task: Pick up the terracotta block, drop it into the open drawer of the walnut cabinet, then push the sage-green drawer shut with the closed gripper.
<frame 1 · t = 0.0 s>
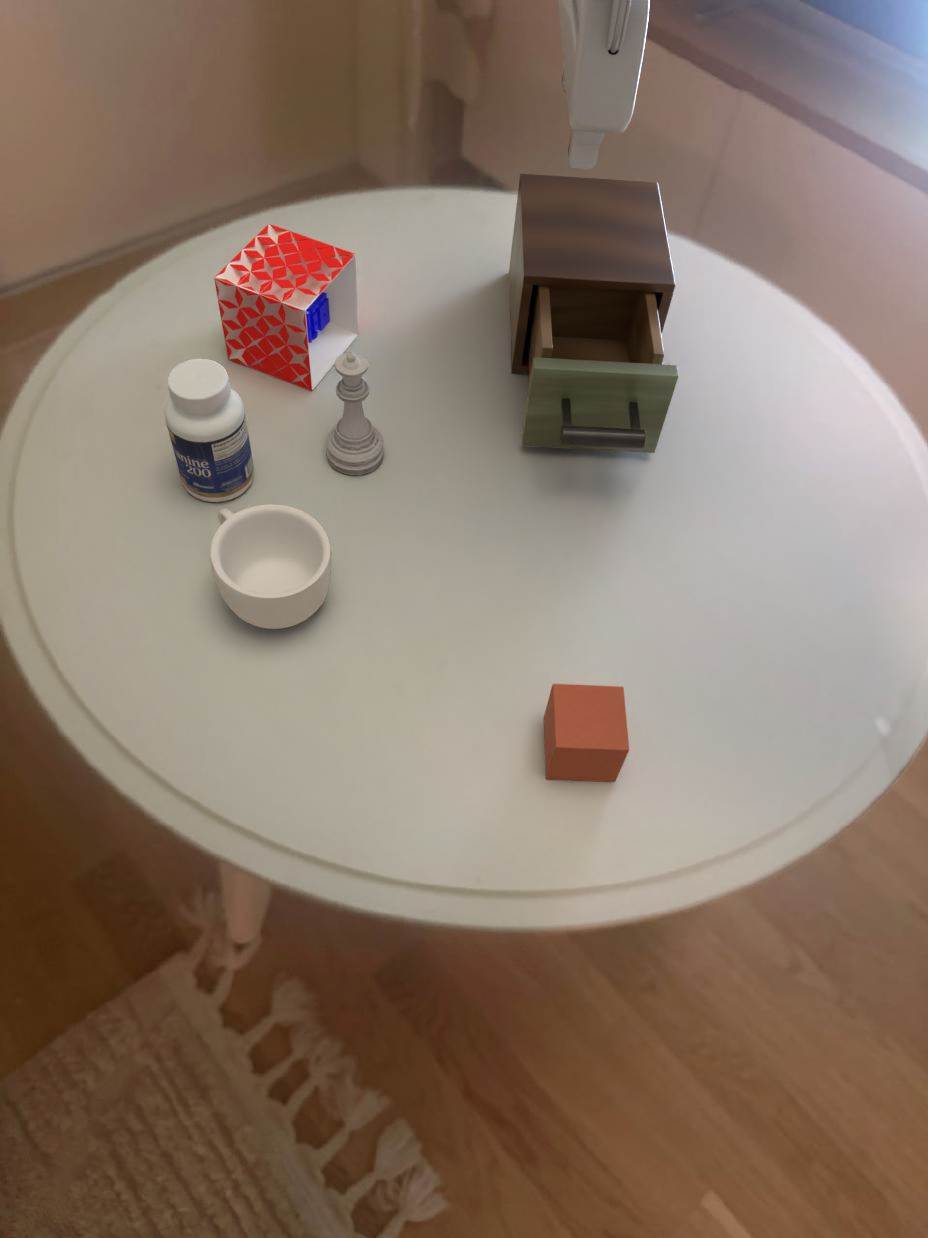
hand: (576, 124, 67), 20 cm above the table, tool pointing down, fingers open, 8 cm apart
block: (578, 749, 63), on the table
drawer: (593, 374, 75), point 5 cm above the table, slide at 8.0 cm
red patterned box: (294, 348, 82), on the table
pill bottle: (218, 479, 74), on the table
teacup: (269, 590, 68), on the table
chess piece: (355, 456, 76), on the table
cabinet: (575, 323, 86), on the table
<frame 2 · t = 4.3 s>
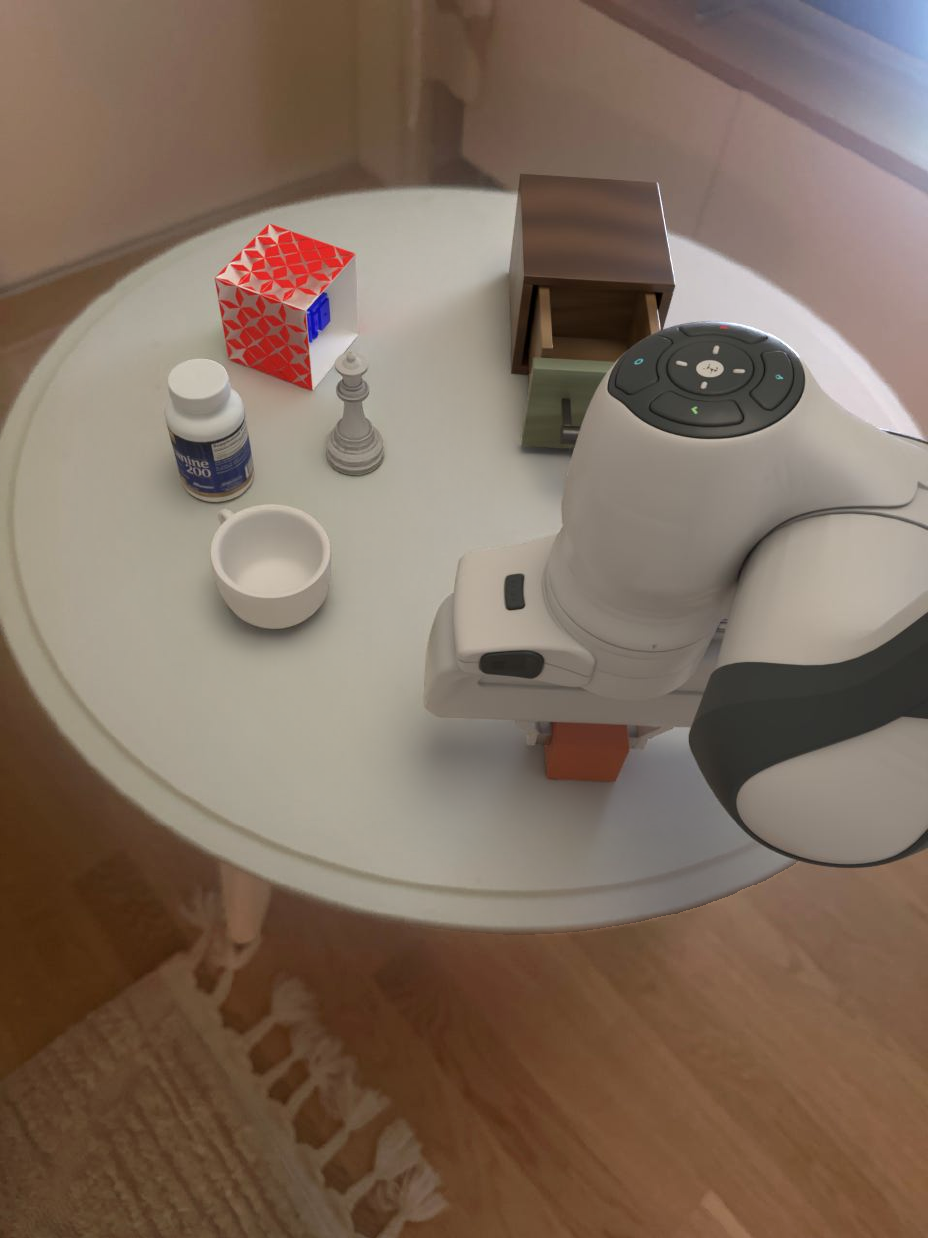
hand: (582, 736, 61), 2 cm above the table, tool pointing down, fingers closed on block, 4 cm apart
block: (579, 749, 63), on the table, touching gripper
everything else where it was.
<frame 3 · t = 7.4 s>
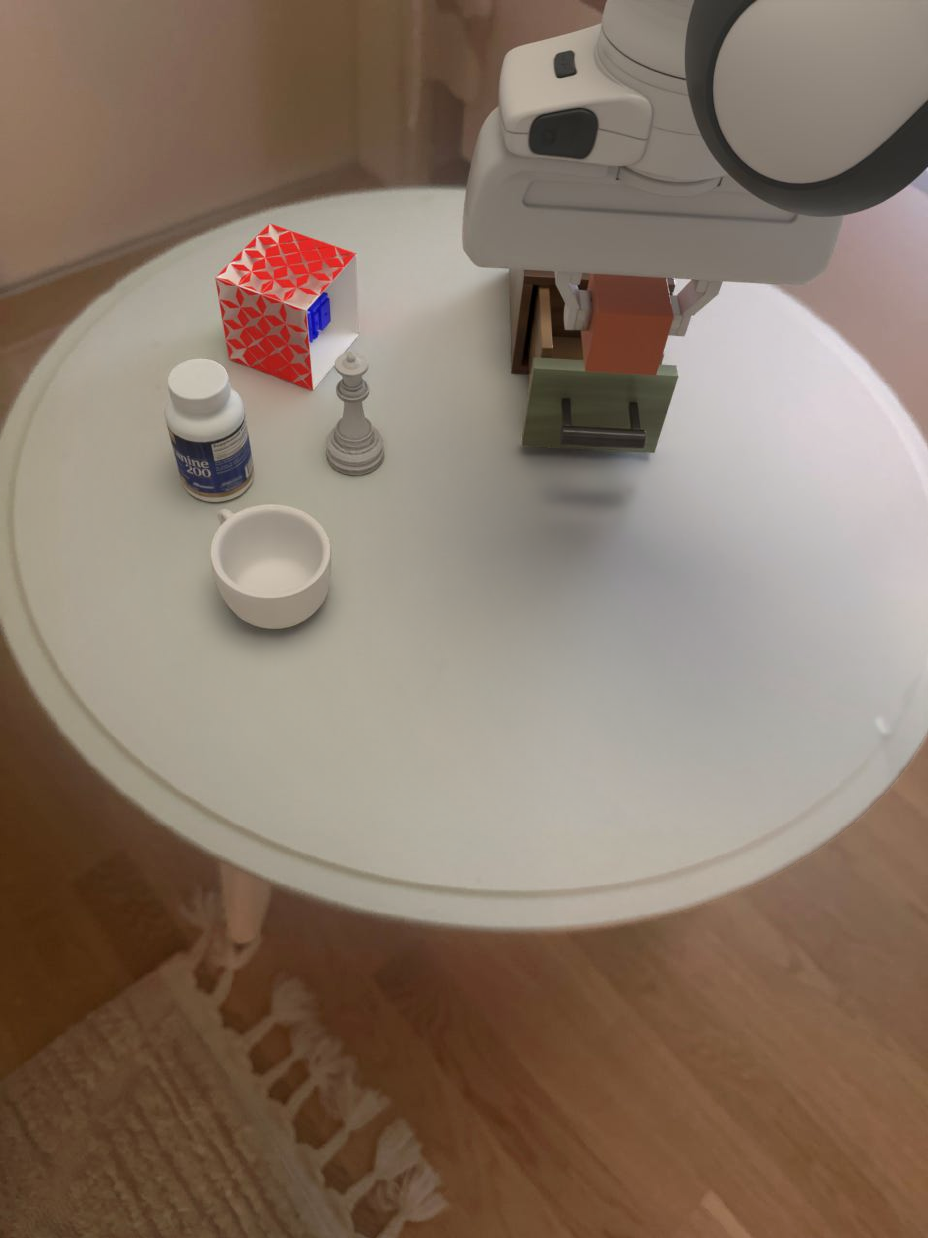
hand: (622, 326, 59), 18 cm above the table, tool pointing down, fingers closed on block, 4 cm apart
block: (617, 349, 61), point 16 cm above the table, touching gripper
everything else where it was.
when the fingers open (9 cm above the table, at t = 10.7 s): block drops 5 cm, resting on drawer.
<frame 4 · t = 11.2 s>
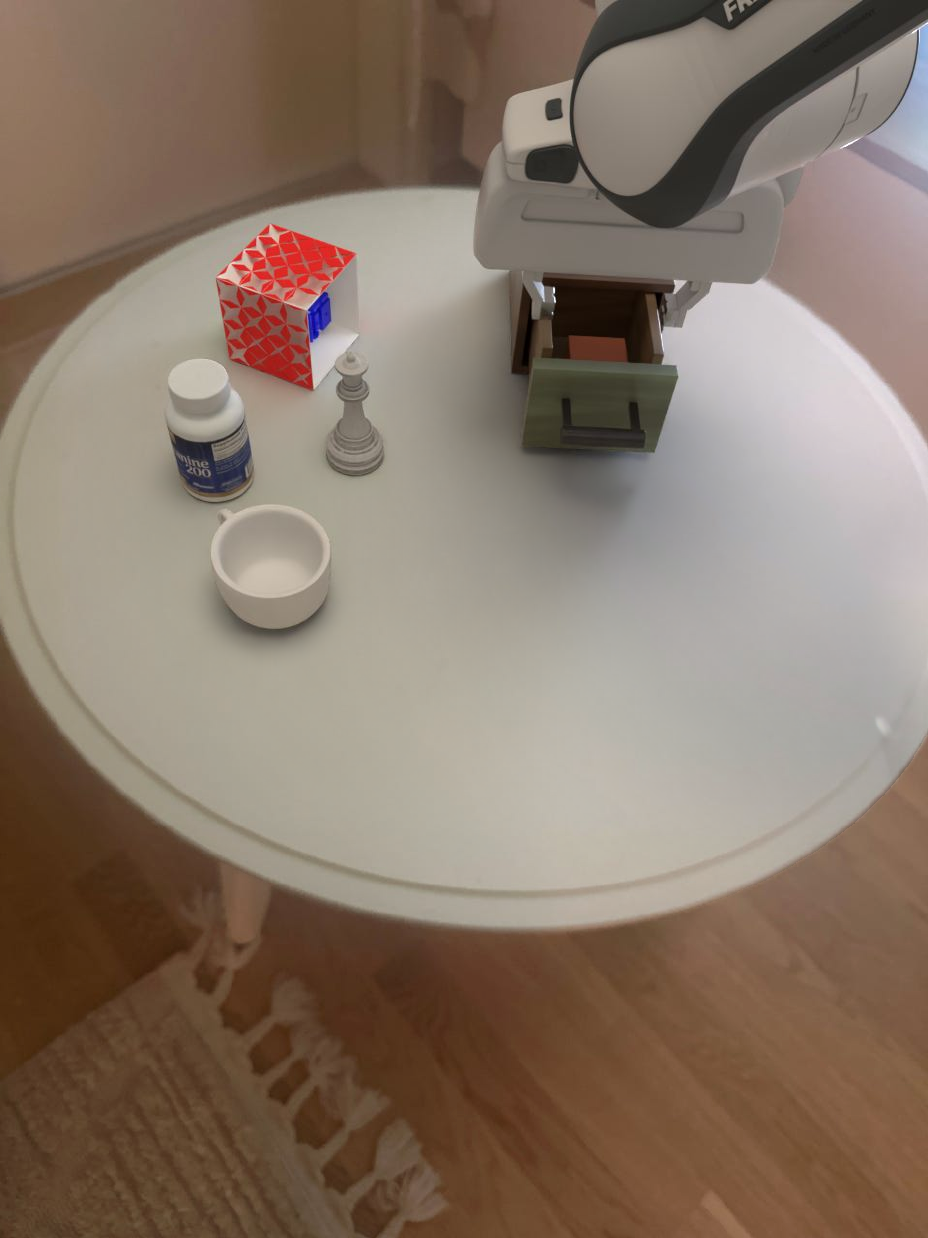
hand: (606, 318, 72), 10 cm above the table, tool pointing down, fingers open, 8 cm apart
block: (589, 398, 78), point 2 cm above the table, touching drawer
drawer: (593, 374, 75), point 5 cm above the table, slide at 8.0 cm, touching block
everything else where it was.
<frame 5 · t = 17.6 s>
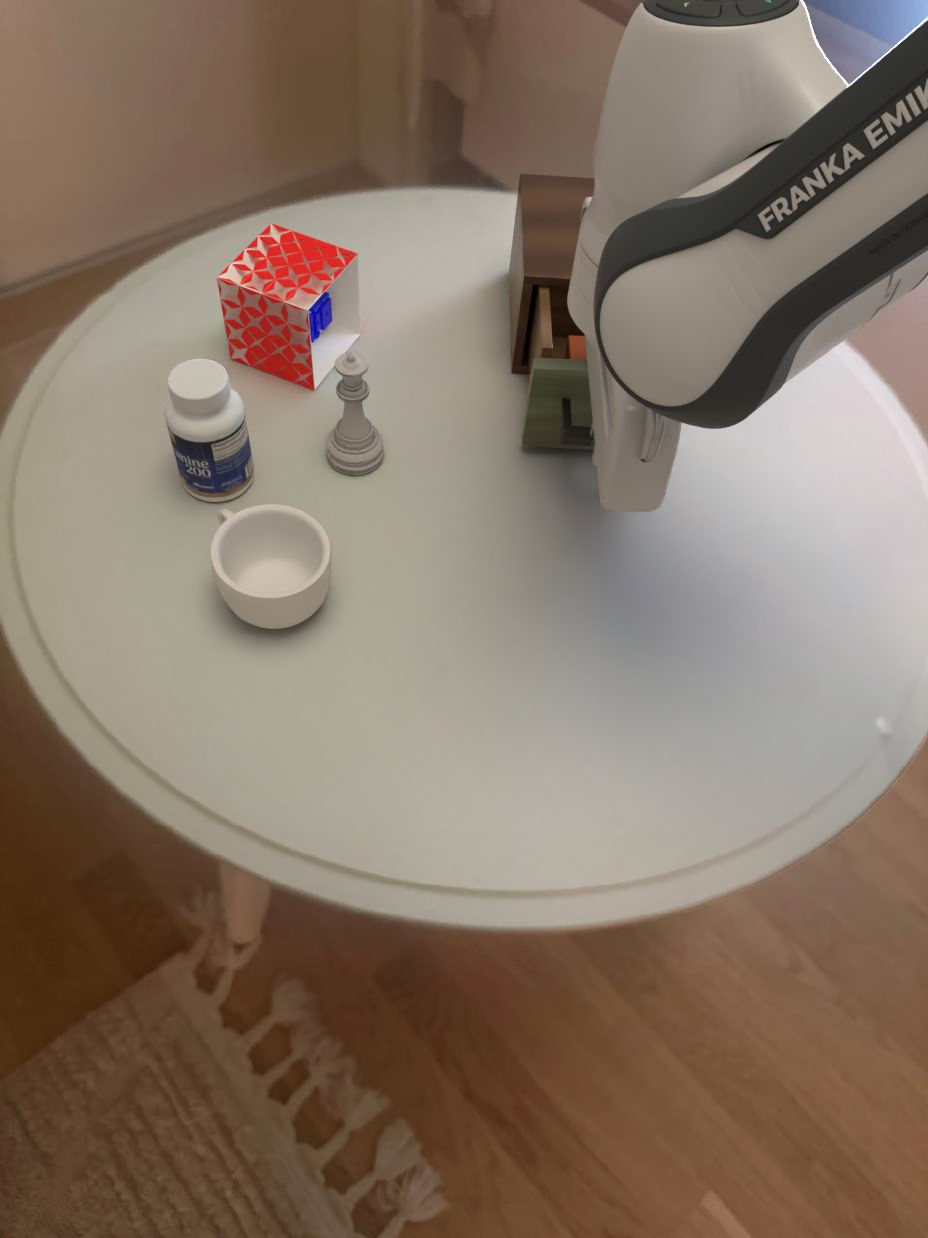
hand: (603, 452, 69), 6 cm above the table, tool pointing down, fingers closed
drawer: (593, 374, 75), point 5 cm above the table, slide at 8.0 cm, touching block, gripper
everything else where it was.
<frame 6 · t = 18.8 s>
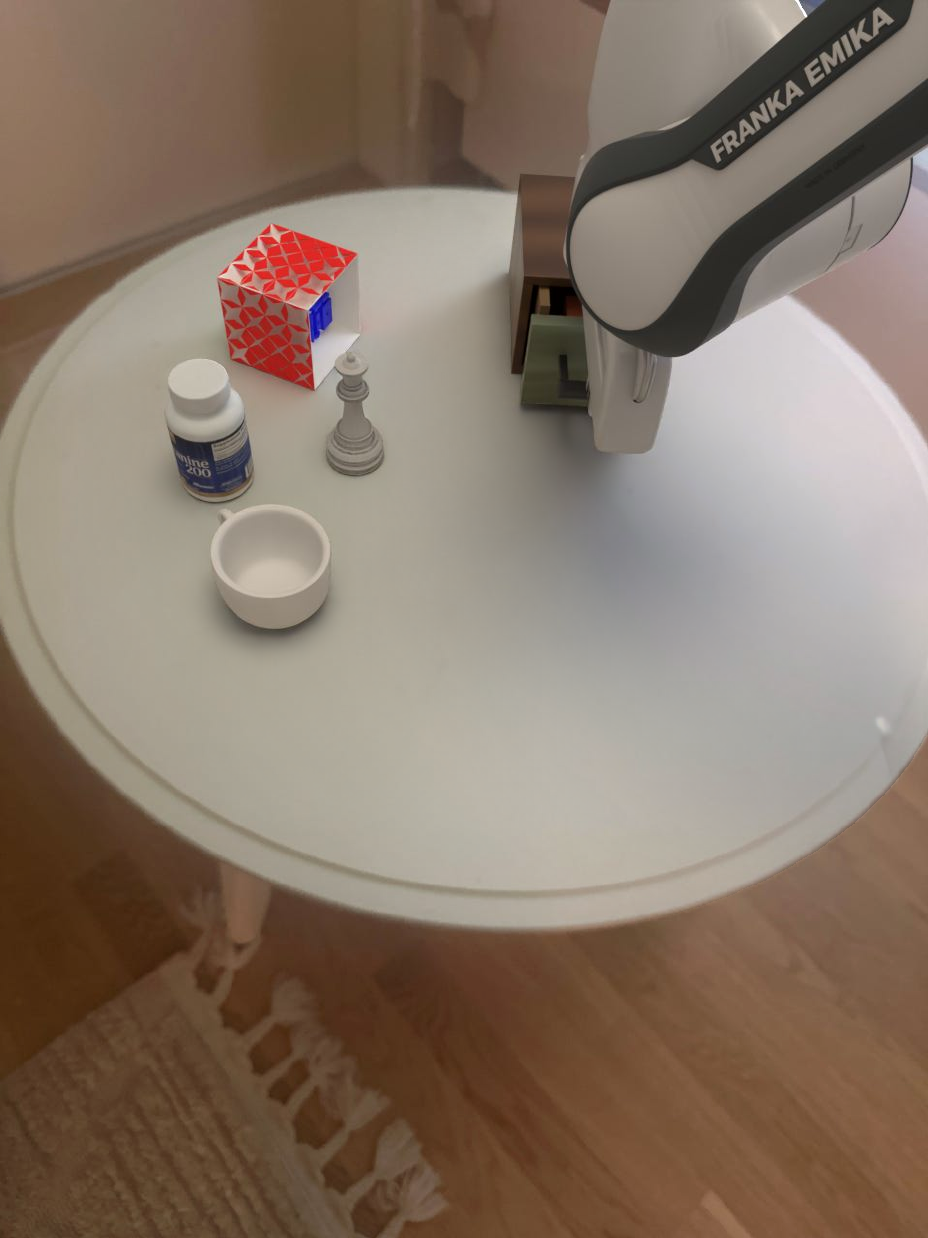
hand: (598, 404, 72), 6 cm above the table, tool pointing down, fingers closed
block: (585, 358, 81), point 2 cm above the table, touching drawer
drawer: (589, 333, 78), point 5 cm above the table, slide at 3.2 cm, touching block, gripper
everything else where it was.
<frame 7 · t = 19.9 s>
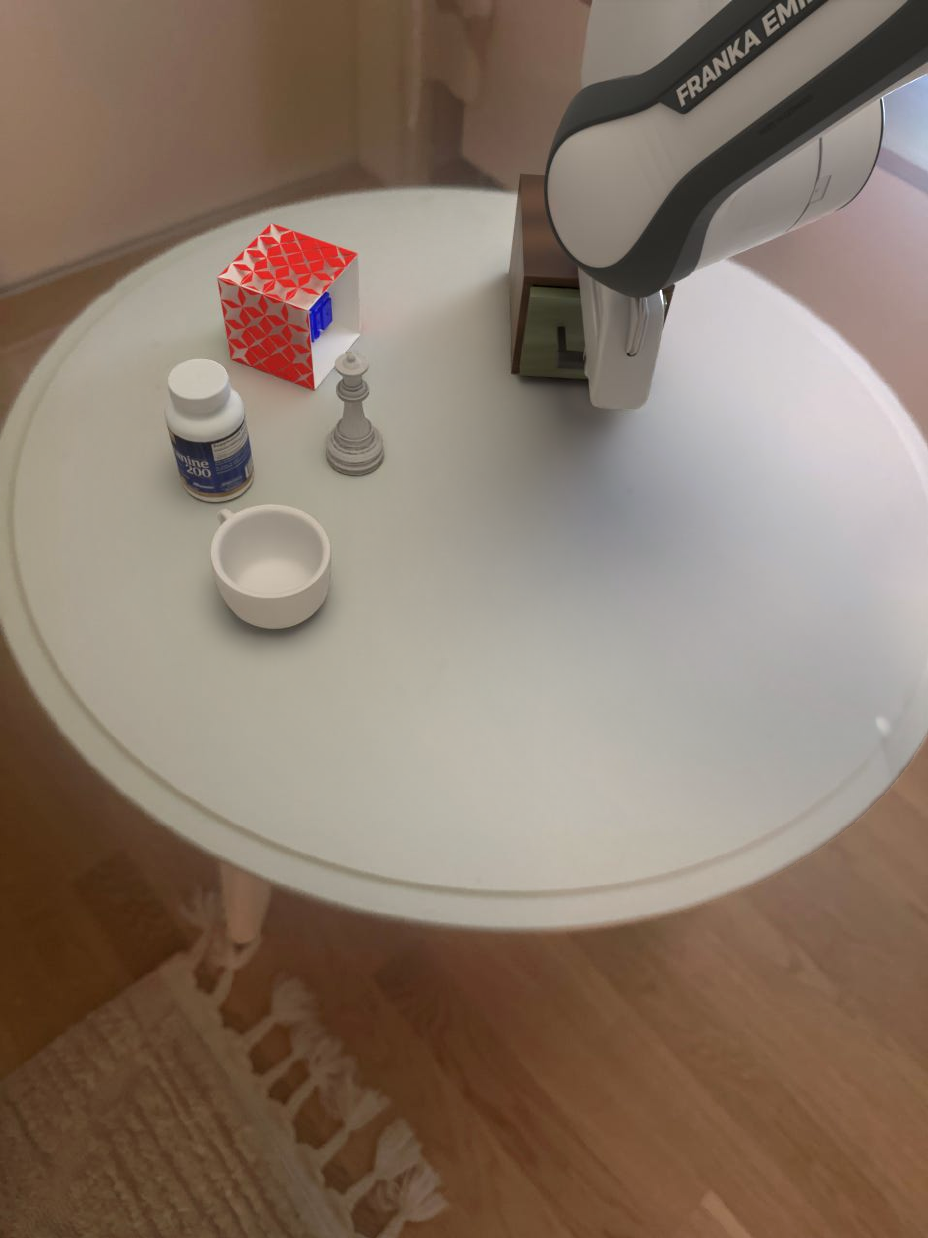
hand: (594, 369, 74), 6 cm above the table, tool pointing down, fingers closed
block: (583, 332, 83), point 2 cm above the table, touching drawer
drawer: (587, 307, 80), point 5 cm above the table, slide at 0.0 cm, touching block, cabinet, gripper
everything else where it was.
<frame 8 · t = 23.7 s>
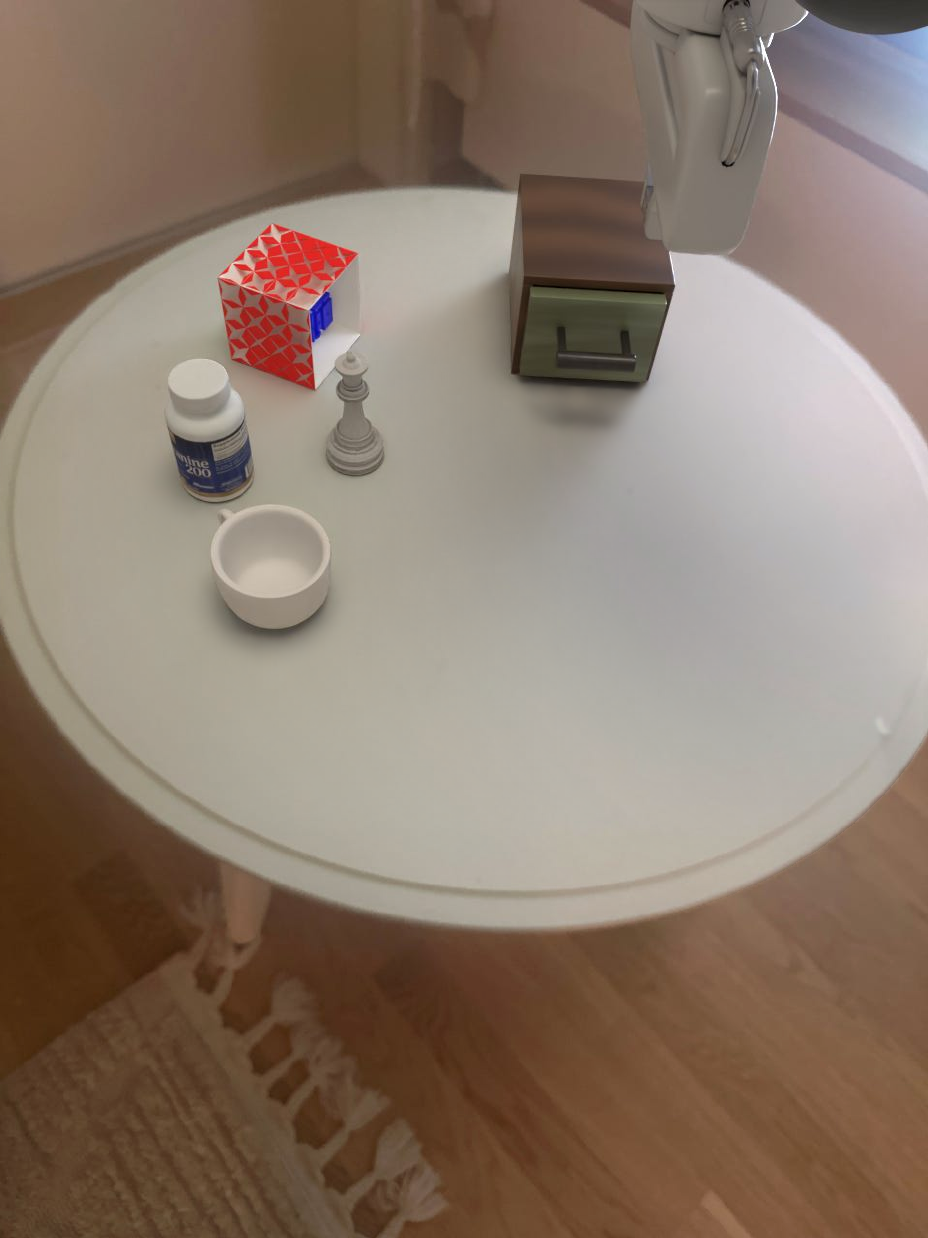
hand: (656, 224, 56), 23 cm above the table, tool pointing down, fingers closed
drawer: (587, 307, 80), point 5 cm above the table, slide at 0.0 cm, touching block, cabinet
everything else where it was.
at the end: block inside the target area in the cabinet (3.3 cm from its centre), point 2.0 cm above the cabinet's base; drawer slide at 0.0 cm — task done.
